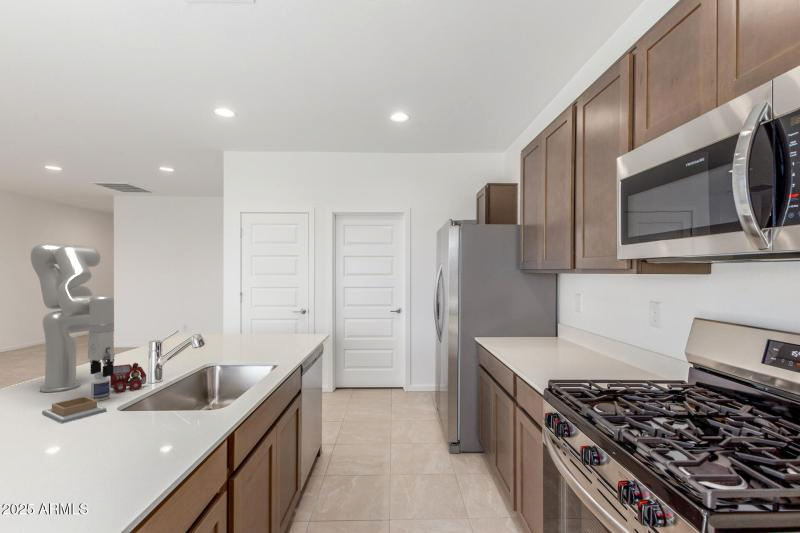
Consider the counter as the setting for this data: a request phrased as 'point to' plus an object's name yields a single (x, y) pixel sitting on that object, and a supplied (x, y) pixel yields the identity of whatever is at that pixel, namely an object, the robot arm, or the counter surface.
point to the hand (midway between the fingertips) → (101, 374)
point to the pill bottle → (100, 387)
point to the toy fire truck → (127, 377)
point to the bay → (73, 409)
